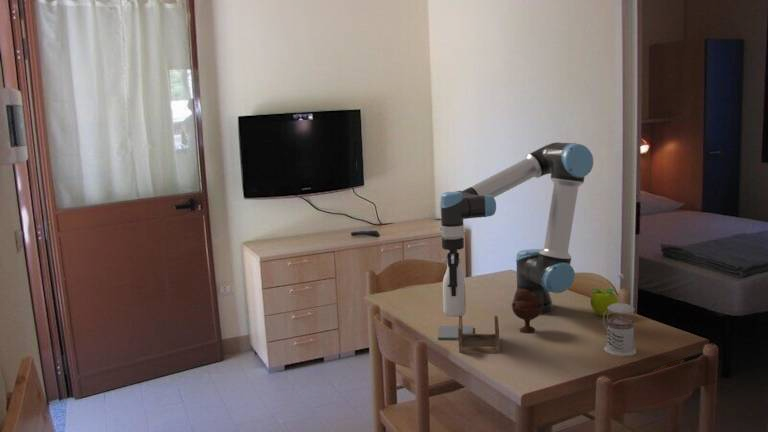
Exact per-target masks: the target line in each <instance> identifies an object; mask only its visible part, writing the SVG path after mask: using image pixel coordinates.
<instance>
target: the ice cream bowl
mask: <svg viewBox="0 0 768 432" xmlns="http://www.w3.org/2000/svg"><path fill="white" fill-rule="evenodd" d="M514 296H515V300H516V302H514V303H513V302H512V303H511V304H510V305H511V308H512V311H513V314H514V315H515V316H516V317H518V318H519V319H521V320H523V321H524V325H523V326H522V327H520V328H519V332H520V333H522V334H533V333H536V329H535V328H534V327H533V326H531V323H530V322H531V321H532V320H535V319H536V318H538V317H539V316H540V315H541V314H542V313H541V312H542V310H543V304H542V303H540V300H539V298H538V296H537V295H536V294H534V293H531V292H529V291H528V290H525V289H520V290H518V291H517V292H516V291H515V294H514Z"/></svg>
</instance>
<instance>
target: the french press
mask: <svg viewBox="0 0 768 432" xmlns="http://www.w3.org/2000/svg"><path fill="white" fill-rule="evenodd" d="M617 278H619V279H624V278H625V274H623V273H619V274H618V275H617ZM619 299H620V300H619V301H620V302H617V303H615V304H611V305H609V306H608V307H607V309H608V310H609V312H608V314H609V313H610V311H611V312H613V313H610V315H614V314H619V315H620V316H616V317H615V316H614V317H611V318H609V315H608V314H607V316H606V319H607V320H606V321H607V326H606V324H605V316H604V315H605V313H606V311H608V310H606V311H605V313H604V315H603V316H602V321H603V326H604V328H605V330H607V331H606V332H607V341H606V342H607V344H606V346H605V347H604V348H603V349H604V351H605V352H606V353H608V354H610V355H613V356H622V357H624V356H625V357H626V356H627V357H628V356H633V355H635V354H637V352H636V351H637V349H636V348H635V346H634V340H635V339H634V337H635V335H634V333H635V332H634V331H635V330H634V328H635V327H634V325H633V320H632V319H631V318H626V317H622V314H623V315H624V314H625V315H627V314H632V313H634V311H635V310H636V309H635V308H634V306H631V305H630V304H627V303H625V302H622V296H620V298H619ZM625 326H626V327H625ZM629 327H630V328H629Z"/></svg>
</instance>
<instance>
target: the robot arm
mask: <svg viewBox="0 0 768 432" xmlns="http://www.w3.org/2000/svg"><path fill="white" fill-rule="evenodd" d="M593 167H594V157H593V153H592V152H591V150H590V149H589V148H588V147H587V146H585V145H584V144H580V143H576V142H553V143H549V144H546V145H544V146H542V147H540V148H538V149H536V150H534V151H531V153H529V154H527V155H525V158H524V159H522V160H521V161H519V162H517V163H514V164H513V165H510V166H509V167H507V168H505V169H503V170H501V171H499V172H497V173H495V174H493V175H491V176H489V177H487V178H486V179H484V180H482V181H479V182H477V183H475V184H473V185H472V186H470V187H467V188H465V189H464V190H456V191H446V192H443V193H442V194H440V195H441V196H440V216H441V217H440V219H441V227H440V228H439V231H441V237H442V238H441V248H442V249H443V250H446V251H449V252H447V256H446V257H447V258H446V260H447V259H448V267H449V278H450V284H449V285H448V287H450V305H458V286H457V267H458V259H460V252H458V250H462V249H464V247H465V241H464V239H465V238H464V237H463V236H464V229H465V228H464V226H465V225H464V220H465V219H467V220H468V219H478V218H479V219H480V218H487V217H488V218H489V217H493V216H494V215H495V213H497V212H496V211H497V202H496V199H495V197H496V198H497V197H498V196H500V195H502V194H504V193H507V191H510V190H511V189H513V188H516V187H517V186H519V185H522V184H523V183H525V182H527V181H530V180H531V179H533V178H537V179H539V178H541V177H543V176H546V175H550V180H551V181H552V183H553V189H552V195H551V201H550V202H551V203H550V206H549V207H550V208H549V214H548V219H547V220H548V221H547V226H546V233H545V238H544V239H545V240H544V243H543V245H544V246H543V248H533V249H532V248H531V249H524V250H519V251H517V253H516V259H515V262H516V263H515V264H516V290H515V293H516V292H517V291H518V290H520V289H525V290H528V291H529V292H531V293H534V294H536V295H537V296H538V298H539V300H540V303H542V304H543V310H542V312H541V314H542V313H547V312H550V311H551V310H553V300H552V297H551V295H550V293H554V294H561V293H565V292H566V291H567V290H568V289H570V287H572V285H573V283H574V281H575V277H576V276H575V275H576V274H575V269H574V268H573V266H572V265H571V263H572V255H570V253H569V248H570V243H571V234H572V228H573V223H574V218H575V217H574V216H575V210H576V206H577V205H576V204H577V197H578V191H579V187H580V186H581V185H583V184H584V182H585V177H586V176H588V175H589V173H591V171H592V170H593ZM456 258H457V259H456ZM456 260H457V264H456ZM514 302H516V300H515V295H514V297H513V300H512V303H514Z"/></svg>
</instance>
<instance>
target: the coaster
mask: <svg viewBox="0 0 768 432" xmlns="http://www.w3.org/2000/svg"><path fill="white" fill-rule="evenodd" d="M462 329H463V334H474V325H462ZM444 340H445V341H446V340H448V341H451V340H452V341H456V340H457V341H459V336H458V325H439V327H438V336H437V341H444ZM464 340H467V341H472V340H474V339H473V337H463V341H464Z"/></svg>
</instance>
